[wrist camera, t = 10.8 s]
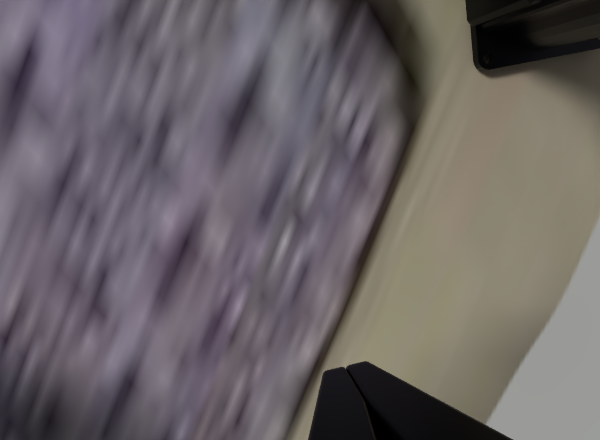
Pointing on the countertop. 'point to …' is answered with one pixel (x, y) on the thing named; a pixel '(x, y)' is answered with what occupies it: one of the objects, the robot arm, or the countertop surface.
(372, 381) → the robot arm
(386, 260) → the countertop surface
